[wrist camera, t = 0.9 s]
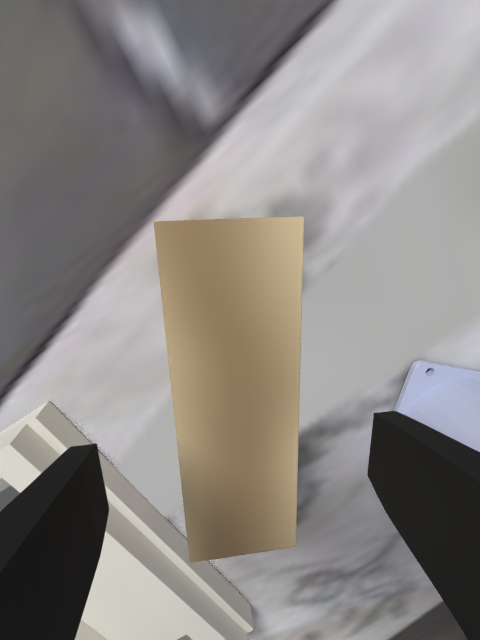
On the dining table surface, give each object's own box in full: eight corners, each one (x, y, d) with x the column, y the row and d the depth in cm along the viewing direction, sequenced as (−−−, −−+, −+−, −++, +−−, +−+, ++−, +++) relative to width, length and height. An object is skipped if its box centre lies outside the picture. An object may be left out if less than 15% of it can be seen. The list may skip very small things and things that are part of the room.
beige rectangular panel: (257, 218, 16) (303, 216, 9) (260, 433, 19) (295, 546, 12) (169, 220, 15) (148, 221, 8) (189, 441, 19) (186, 563, 12)
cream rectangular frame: (250, 604, 23) (258, 658, 20) (144, 666, 23) (137, 728, 21) (48, 400, 17) (18, 437, 14) (-92, 491, 17) (-149, 545, 14)
